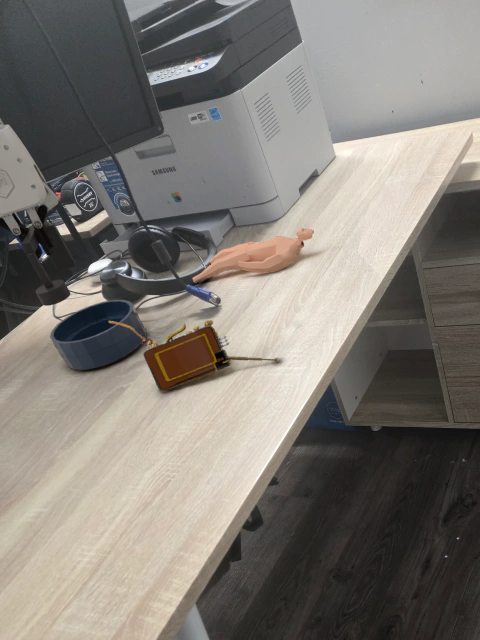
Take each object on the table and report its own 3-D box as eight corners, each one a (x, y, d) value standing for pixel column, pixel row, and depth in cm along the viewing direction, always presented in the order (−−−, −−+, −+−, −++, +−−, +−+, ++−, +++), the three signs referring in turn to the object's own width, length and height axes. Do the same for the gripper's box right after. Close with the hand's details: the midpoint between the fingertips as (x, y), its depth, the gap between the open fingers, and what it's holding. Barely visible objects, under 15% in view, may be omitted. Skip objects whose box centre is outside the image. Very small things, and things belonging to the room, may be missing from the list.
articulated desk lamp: (68, 300, 98) (37, 243, 92) (40, 308, 98) (6, 253, 92) (80, 262, 110) (53, 211, 104) (55, 270, 110) (26, 219, 104)
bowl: (63, 382, 106) (44, 352, 102) (72, 344, 117) (55, 316, 113) (147, 355, 107) (131, 325, 103) (148, 320, 117) (134, 291, 114)
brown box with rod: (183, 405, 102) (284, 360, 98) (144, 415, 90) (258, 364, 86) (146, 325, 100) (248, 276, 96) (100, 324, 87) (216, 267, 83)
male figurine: (198, 249, 129) (315, 214, 123) (210, 272, 133) (324, 239, 126) (183, 272, 122) (306, 236, 115) (195, 296, 125) (316, 263, 118)
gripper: (-93, 146, 86) (-9, 278, 98) (21, 112, 86) (91, 247, 98) (-76, 135, 91) (1, 261, 103) (31, 102, 92) (95, 232, 104)
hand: (45, 254), depth 101 cm, fingers closed on articulated desk lamp, 1 cm apart
